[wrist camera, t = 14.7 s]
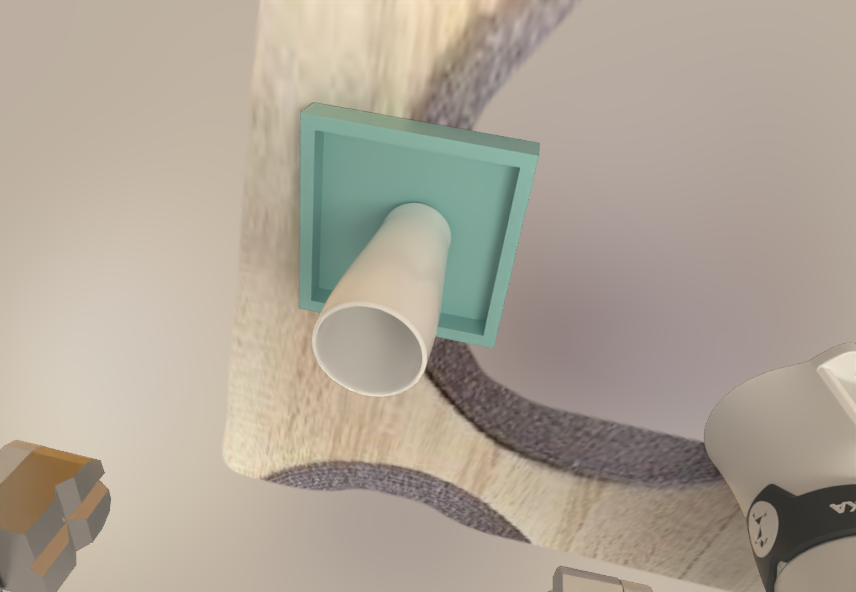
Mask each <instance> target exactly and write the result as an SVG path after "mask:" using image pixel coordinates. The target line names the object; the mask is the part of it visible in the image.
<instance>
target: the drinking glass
mask: <svg viewBox="0 0 856 592" xmlns="http://www.w3.org/2000/svg"><path fill="white" fill-rule="evenodd" d="M450 246H451V230H450V227H449V225H448V223H447V221H446V219H445V218H444V217H443V215H442V214H441V213H440V212H438V211H437V210H436V209H434V208H432V207H431V206H428V205H426V204H422V203H406V204H403V205H400V206H398V207H396V208H394V209H393V210H392V211H391V212H390V213H389V214H388V215H387V216H386V218H385V219H384V221H383V223H382V225H381V226H380V228H379V229H378V231H377V232H376V233H375V234H374V236H373V237H372V238H371V240H370V241H369V242H368V244H367V245H366V246H365V247H364V249H363V250H362V251H361V253H360V254H359V255H358V256H357V258H356V259H355V260H354V261H353V263H352V264H351V265H350V267H349V268H348V269H347V270H346V272H345V273H344V274H343V276H342V277H341V278H340V280H339V281H338V283H337V284H336V286H335V287H334V289H333V290H332V292H331V294H330V296H329V297H328V299H327V301H326V303H325V305H324V307H323V309H322V311H321V313H320V315H319V317H318V319H317V321H316V323H315V325H314V328H313V332H312V339H311V340H312V349H313V353H314V356H315V358H316V360H317V362H318V364H319V366H320V367H321V368H322V370H323V371H324V372H325V373H326V374H327V375H328V376H329V377H330V378H331V379H332V380H333V381H334V382H336V383H337V384H339V385H340V386H342V387H344V388H346V389H348V390H350V391H352V392H355V393H358V394H361V395H366V396H373V397H386V396H392V395H396V394H400V393H402V392H404V391H406V390H408V389H410V388H411V387H412V386H414V385H415V384H416V383H417V382H418V381H419V380H420V378H421V377H422V375H423V373H424V371H425V368H426V365H427V362H428V360H429V357H430V354H431V351H432V348H433V345H434V342H435V338H436V334H437V330H438V325H439V320H440V313H441V305H442V297H443V288H444V280H445V273H446V265H447V258H448V253H449V250H450Z"/></svg>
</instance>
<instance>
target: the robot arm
mask: <svg viewBox="0 0 856 592" xmlns="http://www.w3.org/2000/svg"><path fill="white" fill-rule="evenodd" d="M704 443H705V448H706V451H707V454H708V456H709V458H710V459H711V461H712V462H713V464H714V465H715V466H716V468H717V469H718V470H719V472H720V473H721V474H722V476H723V478H724V479H725V481H726V482H727V484H728V486H729V487H730V489H731V491H732V493H733V494H734V496H735V498H736V500H737V502H738V504H739V506H740V508H741V510H742V512H743V514H744V516H745V518H746V521H747V527H748V533H749V538H750V542H751V546H752V550H753V554H754V557H755V560H756V564H757V567H758V570H759V573H760V576H761V579H762V581H763V584H764V587H765V590H766V592H856V343H844V344H840V345H837V346H835V347H833V348H831V349H829V350H827V351H825V352H823V353H821V354H819V355H818V356H816V357H814V358H813V359H811V360H809V361H806V362H804V363H800V364H796V365H792V366H788V367H783V368H779V369H776V370H772V371H769V372H766V373H764V374H761V375H758V376H756V377H754V378H751V379H749V380H747V381H746V382H744V383H742V384H741V385H739V386H737V387H736V388H734V389H733V390H732V391H730V392H729V393H728V394H727V395H726V396H725V397H724V398H723V399H722V400H721V401H720V402H719V403H718V404H717V405H716V406H715V408H714V409H713V411H712V412H711V414H710V416H709V418H708V420H707V423H706V426H705V432H704ZM104 473H105V472H104V469H103V466H102V463H101V460H97V459H93V458H89V457H85V456H81V455H77V454H72V453H68V452H64V451H60V450H56V449H52V448H48V447H45V446H41V445H37V444H32V443H28V442H24V441H19V440H15V441H13V442H11V443H9V444H7V445H5V446H3V448H1V450H0V592H3V591H2V590H6V591H11V592H57V591H58V589H59V588H60V587H61V585H62V584H63V582H64V581H65V580H66V578H67V577H68V576H69V574H70V573H71V571H72V570H73V569H74V567H75V566H76V551H78V550H80V549H81V548H83V547H85V546H87V545H88V544H90V543H92V542H93V541H94V540H95V538H96V537H97V535H98V534H99V532H100V531H101V530H102V528H103V526H104V524H105V521H106V519H107V516H108V514H109V511H110V502H111V497H110V493H109V489H108V488H107V487H106V486H105V485H104V484H103V483H102V482H101V481H100V480H99V479H100V478H101V477H102V475H103V474H104ZM549 592H653V591H652V589H651V587H649V586H647V585H643V584H638V583H634V582H628V581H624V580H619V579H618V578H615V577H611V576H606V575H601V574H596V573H592V572H587V571H582V570H577V569H573V568H568V567H563V566H559V567H558V568H557V569H556V571H555V573H554V576H553V590H551V591H549Z"/></svg>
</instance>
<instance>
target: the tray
mask: <svg viewBox="0 0 856 592" xmlns="http://www.w3.org/2000/svg"><path fill="white" fill-rule="evenodd" d="M538 157H539V143H537V142H531V141H526V140H520V139H515V138H509V137H504V136H498V135H493V134H487V133H481V132H476V131H470V130H465V129H459V128H454V127H448V126H442V125H437V124H431V123H426V122H420V121H415V120H409V119H403V118H398V117H392V116H387V115H381V114H376V113H370V112H364V111H359V110H353V109H348V108H342V107H337V106H331V105H325V104H320V103H314V102H313V103H312V104H311V105H310V106H308V107H307V108H306V109H305V110H303V111H302V112H301V137H300V247H299V308H300V309H305V310H310V311H314V312H319V313H321V311H322V309H323V307H324V305H325V303H326V301H327V299H328V297H329V296H330V294H331V292H332V290H333V289H334V287H335V286H336V284H337V283H338V281H339V280H340V278H341V277H342V276H343V274H344V273H345V272H346V270H347V269H348V268H349V267H350V265H351V264H352V263H353V261H354V260H355V259H356V258H357V256H358V255H359V254H360V253H361V251H362V250H363V249H364V247H365V246H366V245H367V244H368V242H369V241H370V240H371V238H372V237H373V236H374V234H375V233H376V232H377V231H378V229H379V228H380V226H381V225H382V223H383V221H384V219H385V218H386V216H387V215H388V214H389V213H390V212H391V211H392V210H393V209H394V208H396V207H398V206H400V205H403V204H406V203H422V204H426V205H428V206H431V207H432V208H434V209H436V210H437V211H438V212H440V213H441V214H442V215H443V217H444V218H445V219H446V221H447V223H448V225H449V227H450V230H451V246H450V250H449V253H448V258H447V265H446V273H445V280H444V288H443V297H442V305H441V313H440V320H439V325H438V330H437V334H436V337H440V338H445V339H450V340H455V341H460V342H465V343H470V344H475V345H480V346H485V347H489V348H494V345H495V340H496V335H497V332H498V327H499V323H500V319H501V315H502V311H503V306H504V302H505V298H506V294H507V289H508V285H509V281H510V277H511V272H512V268H513V264H514V260H515V255H516V251H517V247H518V242H519V238H520V234H521V230H522V225H523V221H524V217H525V212H526V208H527V204H528V200H529V196H530V191H531V187H532V183H533V179H534V174H535V170H536V166H537V162H538Z"/></svg>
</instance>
